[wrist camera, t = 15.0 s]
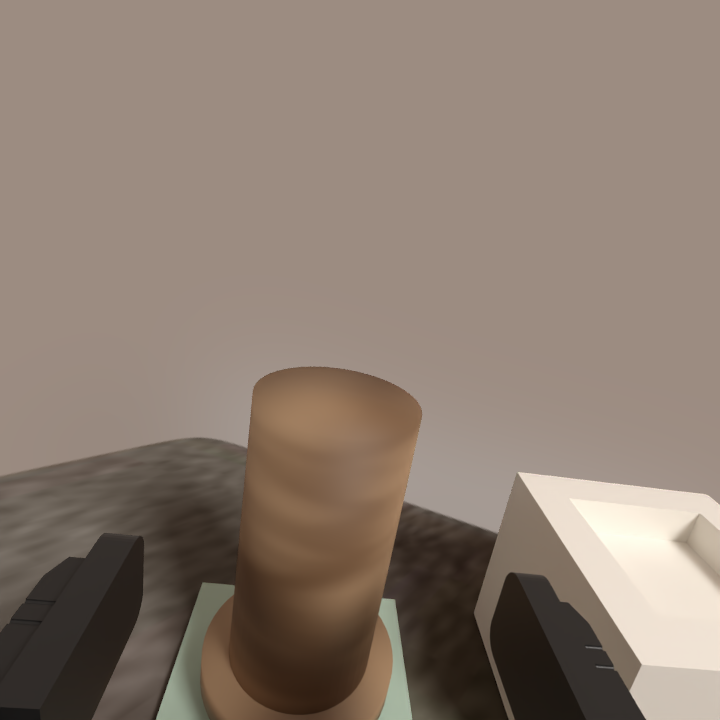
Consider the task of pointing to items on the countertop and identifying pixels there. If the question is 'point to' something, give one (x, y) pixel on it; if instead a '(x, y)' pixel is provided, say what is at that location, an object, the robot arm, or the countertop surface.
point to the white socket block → (623, 581)
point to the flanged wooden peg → (313, 550)
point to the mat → (183, 693)
